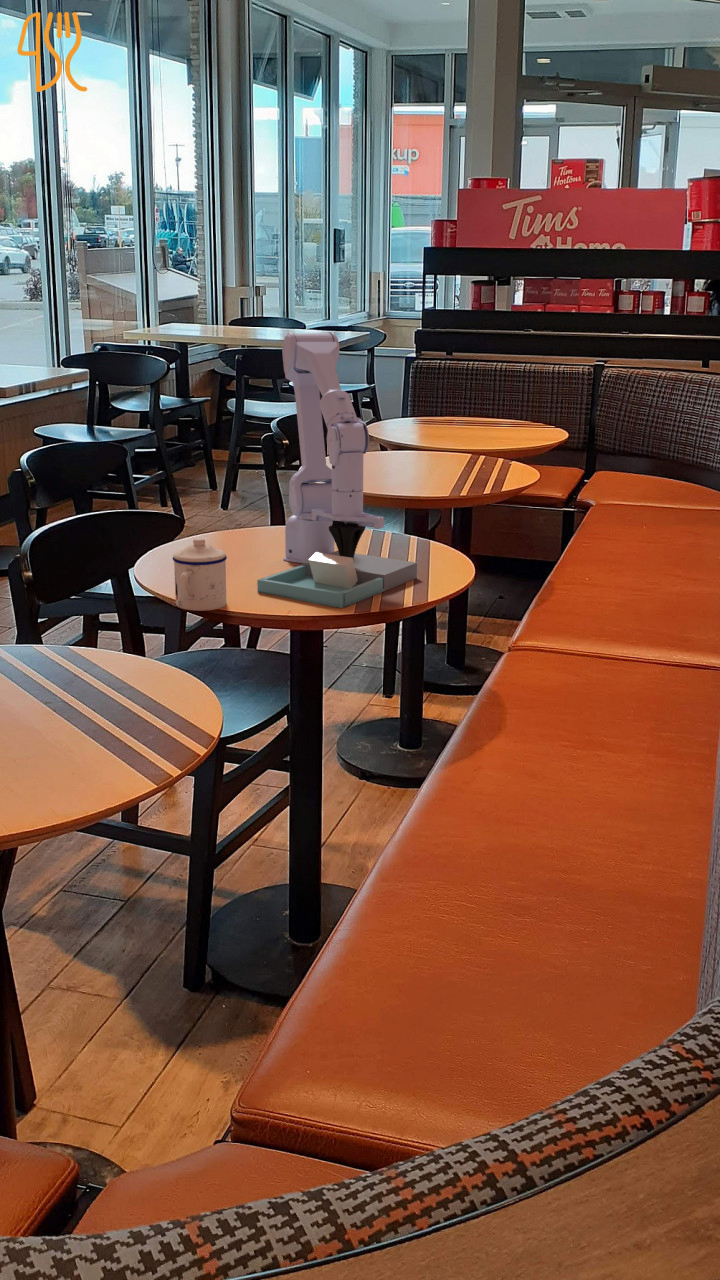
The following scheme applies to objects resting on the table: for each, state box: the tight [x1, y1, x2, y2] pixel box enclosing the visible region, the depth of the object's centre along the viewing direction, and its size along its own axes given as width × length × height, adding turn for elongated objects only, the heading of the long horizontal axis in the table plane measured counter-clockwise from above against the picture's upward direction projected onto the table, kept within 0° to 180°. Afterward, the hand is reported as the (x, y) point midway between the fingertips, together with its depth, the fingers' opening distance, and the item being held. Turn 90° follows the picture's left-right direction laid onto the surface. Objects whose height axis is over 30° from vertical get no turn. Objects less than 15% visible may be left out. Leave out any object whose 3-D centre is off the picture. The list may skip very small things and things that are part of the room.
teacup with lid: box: [172, 537, 228, 612], centre depth 193 cm, size 12×9×12 cm
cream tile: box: [309, 552, 358, 588], centre depth 207 cm, size 8×5×2 cm
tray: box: [256, 565, 385, 609], centre depth 205 cm, size 18×14×2 cm
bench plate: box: [301, 550, 418, 592], centre depth 215 cm, size 18×12×3 cm, turn 58°
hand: (347, 562), depth 211 cm, fingers closed
